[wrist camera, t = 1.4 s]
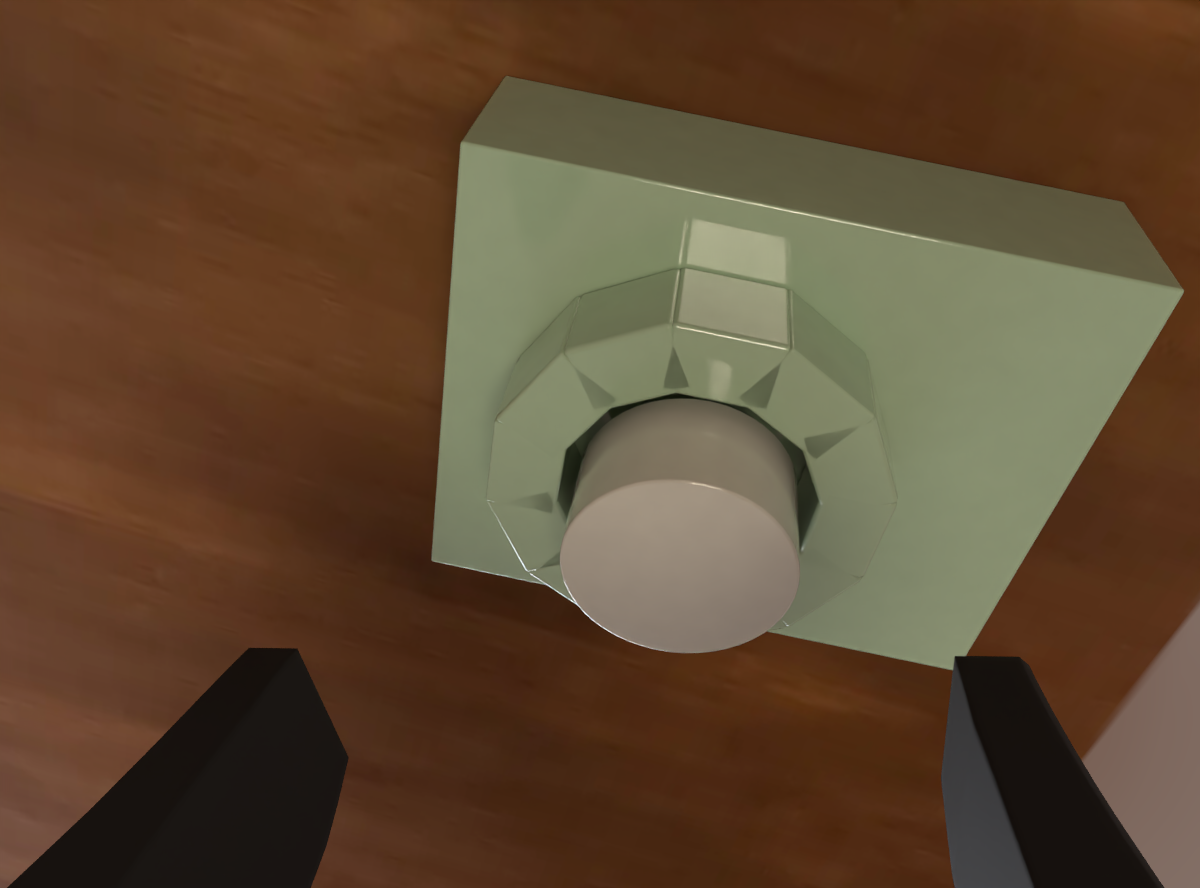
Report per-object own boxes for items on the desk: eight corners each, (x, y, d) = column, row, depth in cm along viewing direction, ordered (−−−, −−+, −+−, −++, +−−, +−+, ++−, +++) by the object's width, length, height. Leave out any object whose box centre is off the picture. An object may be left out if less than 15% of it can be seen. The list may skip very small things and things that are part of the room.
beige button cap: (825, 423, 15) (832, 511, 14) (765, 582, 18) (764, 674, 16) (597, 376, 15) (576, 457, 14) (566, 541, 18) (545, 627, 16)
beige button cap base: (1126, 201, 17) (1231, 355, 13) (936, 562, 23) (971, 746, 19) (504, 74, 17) (427, 190, 13) (467, 465, 23) (405, 627, 19)
